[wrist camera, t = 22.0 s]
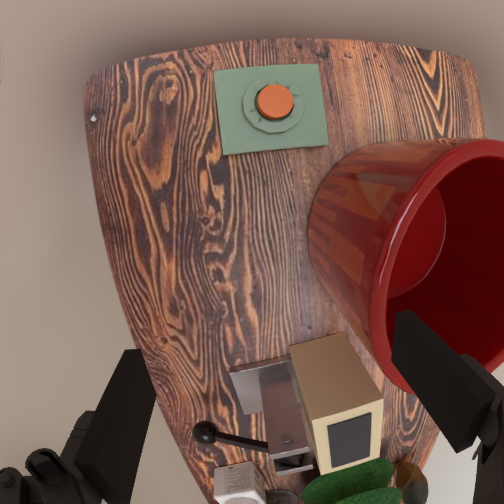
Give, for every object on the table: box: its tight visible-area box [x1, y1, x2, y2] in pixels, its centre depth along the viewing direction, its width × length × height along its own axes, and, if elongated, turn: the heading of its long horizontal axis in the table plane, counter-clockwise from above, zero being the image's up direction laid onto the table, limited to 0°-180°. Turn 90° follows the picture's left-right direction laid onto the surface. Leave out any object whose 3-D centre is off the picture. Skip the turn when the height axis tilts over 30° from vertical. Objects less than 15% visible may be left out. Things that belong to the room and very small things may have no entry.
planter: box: [308, 138, 504, 396], centre depth 30 cm, size 23×23×20 cm
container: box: [214, 461, 266, 504], centre depth 45 cm, size 8×8×13 cm
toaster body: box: [289, 332, 384, 475], centre depth 37 cm, size 8×12×15 cm, turn 13°
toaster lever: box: [192, 421, 304, 465], centre depth 34 cm, size 15×4×4 cm, turn 103°
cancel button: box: [257, 84, 293, 120], centre depth 30 cm, size 4×4×2 cm
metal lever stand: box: [230, 354, 313, 476], centre depth 37 cm, size 12×9×16 cm
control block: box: [213, 64, 329, 156], centre depth 33 cm, size 12×10×4 cm
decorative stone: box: [396, 460, 428, 504], centre depth 48 cm, size 10×6×15 cm, turn 0°
